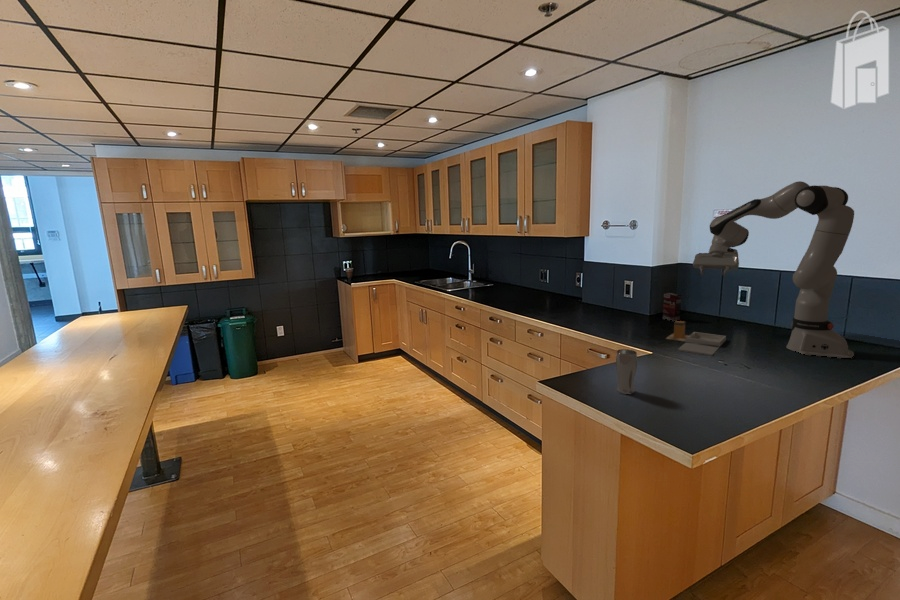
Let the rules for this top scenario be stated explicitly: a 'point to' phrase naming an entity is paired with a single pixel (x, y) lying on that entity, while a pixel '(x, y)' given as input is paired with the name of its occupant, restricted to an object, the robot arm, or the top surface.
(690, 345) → the case
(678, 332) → the block
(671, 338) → the pad
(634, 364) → the beer glass
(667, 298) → the supplement box
